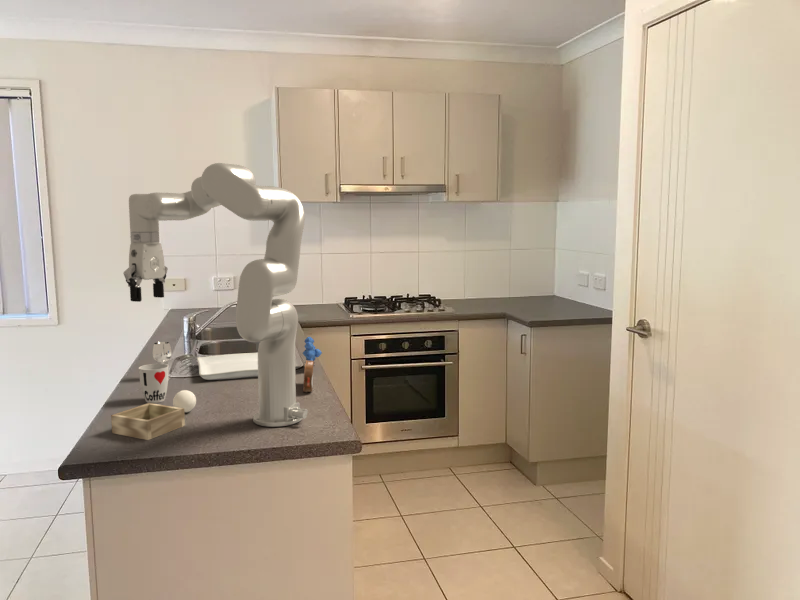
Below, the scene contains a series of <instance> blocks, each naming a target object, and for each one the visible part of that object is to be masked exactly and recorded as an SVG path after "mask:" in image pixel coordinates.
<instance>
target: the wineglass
mask: <svg viewBox="0 0 800 600" xmlns="http://www.w3.org/2000/svg"><path fill="white" fill-rule="evenodd" d="M152 357H153V360H154V361H156V362H158V363H160V364H165V363H166V362H169V360H170V359H171V358H172V347H171V344H170V342H169V341H158V342H154V344H153V347H152ZM169 380H171V377H169V376H168V381H169Z"/></svg>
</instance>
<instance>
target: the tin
mask: <svg viewBox="0 0 800 600" xmlns="http://www.w3.org/2000/svg"><path fill="white" fill-rule="evenodd" d="M305 361H306V363H305V362H304V371H303V388H302V389H303V393H312V392H313V388H314V368H315V366H314V365H315V363H314V362H315V360H314V361H308V360H306V359H305Z"/></svg>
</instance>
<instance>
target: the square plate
mask: <svg viewBox="0 0 800 600" xmlns="http://www.w3.org/2000/svg"><path fill="white" fill-rule="evenodd" d="M196 361H197V364H198V375H199V376H200V377H201V378H202V379H203V380H207V381H217V380H218V381H221V380H235V379H236V380H237V379H245V378H246V379H248V378H258V352H247V353H246V352H245V353H228V354H216V355H210V356H209V355H207V356H199V357H198V356H197V357H196Z"/></svg>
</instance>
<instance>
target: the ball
mask: <svg viewBox="0 0 800 600" xmlns="http://www.w3.org/2000/svg"><path fill="white" fill-rule="evenodd" d="M172 405H173V407H178V408H184V414H185V413H189V412H191V411H192V410H193V409H194V408H195V407H196V405H197V398H196V395H195V394H194V392H192V391H190V390H187V389H182V390H179V391H178V392H177V393H175V395H174V397H173V399H172Z"/></svg>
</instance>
